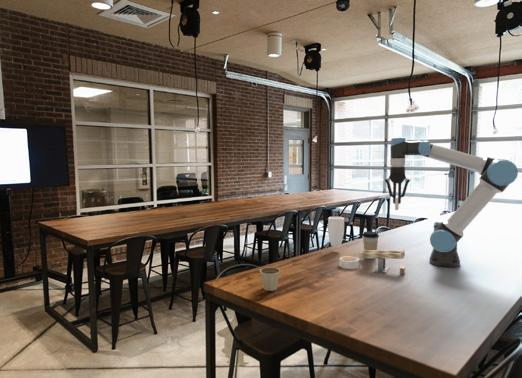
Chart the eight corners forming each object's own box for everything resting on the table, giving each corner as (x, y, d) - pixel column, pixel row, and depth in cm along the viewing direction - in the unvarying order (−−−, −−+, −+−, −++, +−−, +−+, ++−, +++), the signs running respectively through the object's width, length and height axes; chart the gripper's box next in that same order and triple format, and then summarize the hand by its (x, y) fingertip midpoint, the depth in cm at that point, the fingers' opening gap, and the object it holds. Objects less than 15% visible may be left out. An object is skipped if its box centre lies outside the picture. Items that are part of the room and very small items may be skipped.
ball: (346, 256, 200) (344, 262, 201) (345, 258, 197) (343, 264, 198) (352, 259, 199) (350, 265, 200) (351, 261, 196) (349, 266, 197)
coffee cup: (379, 260, 208) (379, 234, 207) (362, 259, 210) (362, 234, 209) (377, 255, 217) (377, 231, 216) (361, 255, 219) (361, 230, 218)
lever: (406, 252, 194) (405, 246, 193) (403, 258, 182) (402, 252, 182) (364, 251, 204) (364, 246, 204) (359, 257, 192) (358, 251, 192)
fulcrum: (405, 270, 190) (406, 256, 189) (403, 276, 180) (403, 261, 180) (377, 266, 197) (377, 253, 196) (373, 272, 187) (373, 258, 186)
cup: (326, 253, 225) (326, 218, 224) (329, 248, 235) (329, 216, 233) (342, 254, 222) (343, 219, 220) (345, 250, 231) (345, 216, 229)
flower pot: (274, 294, 160) (273, 275, 159) (256, 290, 165) (255, 271, 164) (284, 287, 168) (284, 269, 167) (266, 283, 173) (266, 266, 172)
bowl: (360, 264, 201) (360, 257, 200) (356, 269, 192) (356, 262, 191) (342, 262, 205) (342, 255, 205) (337, 267, 196) (337, 260, 196)
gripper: (411, 166, 197) (410, 209, 199) (386, 166, 203) (385, 208, 205) (409, 166, 190) (408, 211, 192) (383, 166, 196) (383, 209, 198)
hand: (396, 209), depth 199 cm, fingers closed
